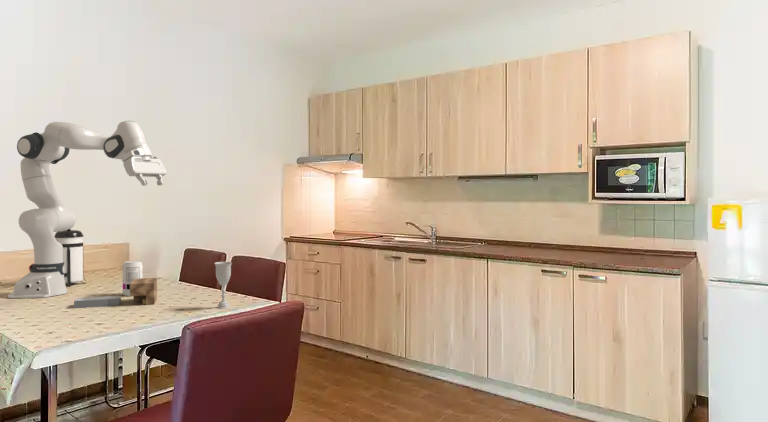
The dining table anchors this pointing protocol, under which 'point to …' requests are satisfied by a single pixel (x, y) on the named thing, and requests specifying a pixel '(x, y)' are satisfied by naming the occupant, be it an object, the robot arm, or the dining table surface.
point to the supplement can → (131, 274)
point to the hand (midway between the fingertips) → (152, 185)
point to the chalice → (223, 280)
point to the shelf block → (144, 290)
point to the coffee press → (72, 255)
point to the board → (97, 301)
